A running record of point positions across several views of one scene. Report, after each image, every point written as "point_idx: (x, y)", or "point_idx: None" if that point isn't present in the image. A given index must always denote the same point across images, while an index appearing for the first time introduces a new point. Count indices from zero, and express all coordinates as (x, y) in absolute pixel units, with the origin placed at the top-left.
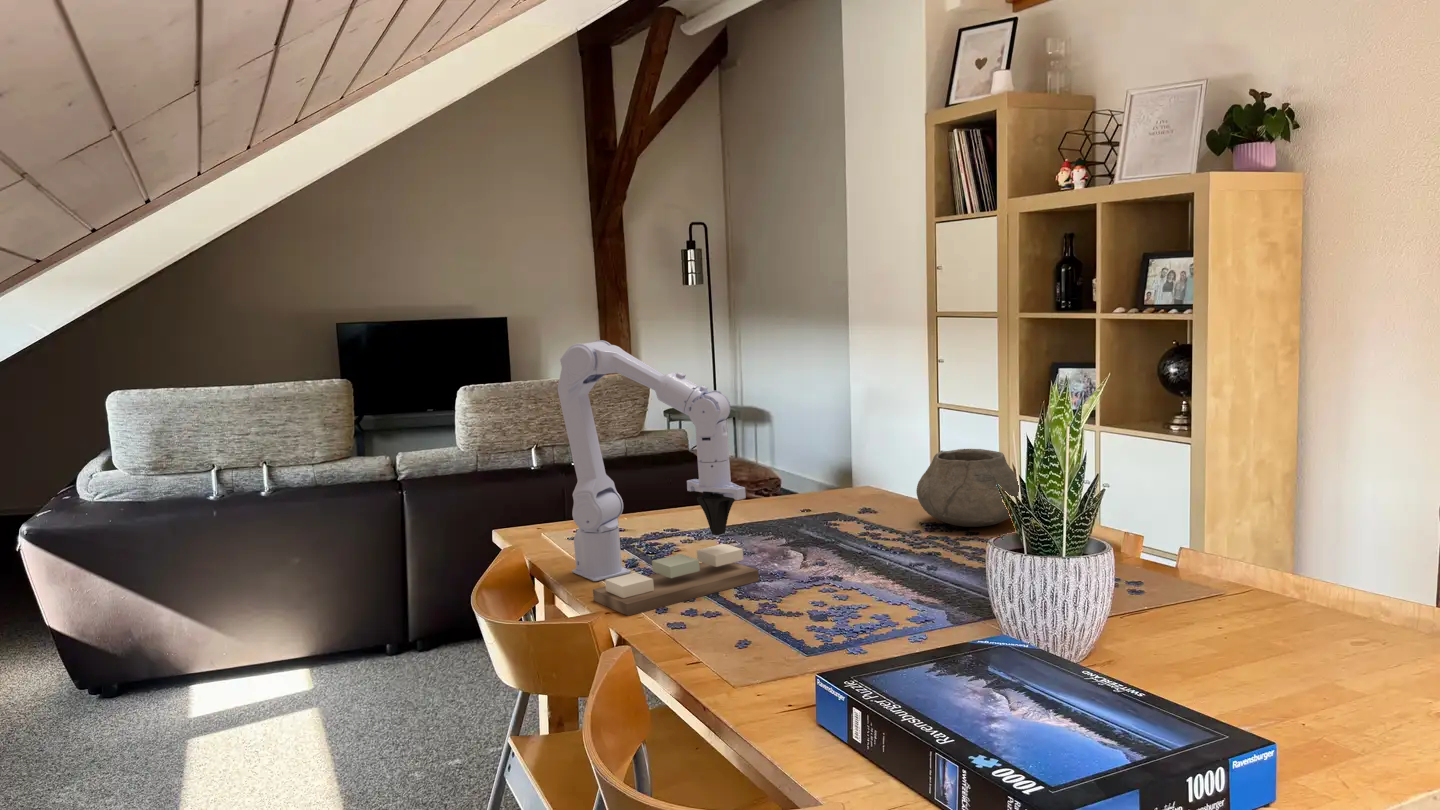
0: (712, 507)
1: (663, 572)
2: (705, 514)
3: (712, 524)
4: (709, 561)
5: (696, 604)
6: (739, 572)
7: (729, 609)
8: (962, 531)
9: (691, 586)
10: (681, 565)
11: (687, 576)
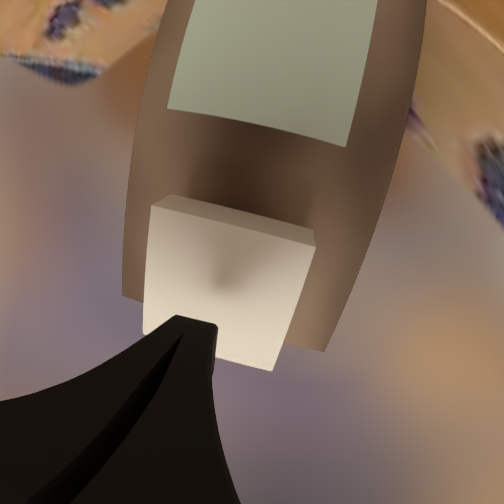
0: (12, 411)
1: None
2: (203, 416)
3: (157, 349)
4: (213, 208)
5: (130, 25)
6: (142, 250)
7: (48, 65)
8: None
9: (163, 38)
10: (193, 15)
11: None
